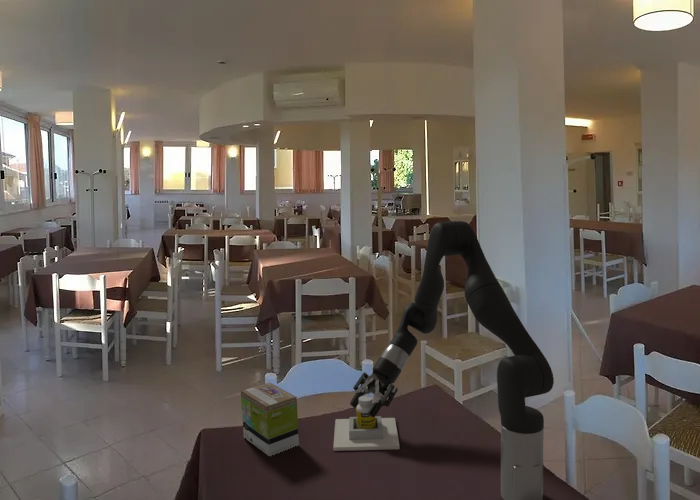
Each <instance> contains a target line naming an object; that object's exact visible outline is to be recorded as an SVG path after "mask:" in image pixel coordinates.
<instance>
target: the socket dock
mask: <svg viewBox="0 0 700 500" xmlns="http://www.w3.org/2000/svg"><path fill="white" fill-rule="evenodd" d="M399 440H400V439H399V435H398V429H397V422H396V418H395V417H382V416H381V415H379V416H377V415H376V416H375V429H357V416H349V418H336V419H335V422H334V435H333V451H334V452H338V451H339V452H341V451H343V452H344V451H377V450H378V451H379V450H380V451H381V450H382V451H383V450H384V451H385V450H386V451H387V450H401V449H400V441H399Z"/></svg>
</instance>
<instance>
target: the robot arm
mask: <svg viewBox="0 0 700 500" xmlns="http://www.w3.org/2000/svg"><path fill="white" fill-rule="evenodd" d="M427 240H428V241H427V247H426V253H425V256H424V257H425V258H424V264H423V271H422V276H421V279H420V282H419V285H418V288H417V290H416V292H415V293H416V294H415V296H414V302H410V303H408V304H407V305H406V306H405V307H404V309H403V312H402V315H401V319H400V323H399V325H398V328H397V330H396V332H395V334H394V336H393V337H392V338H391V341H390V342H389V343H388V345H387V346H386V347H385V349H384V350H383V352H382V353H381V354H380V356H379V357H378V359H377V361H376V362H375V364H374V366H373V367H372V374H370V375H369V374H368V373H366V372H365V371H364V372H363V373H362V374H361V375H360V377H359V378H358V380H357V381H356V383H354V386H353V387H352V388H353V390H354V391H355V394H354V396H353V397H352V398H351V400H350V403H349V404H350V406H351V407H352V408H354V409H356V408H357V405H358V404H359V397H361V396H367V395H370V394H374V395H375V402H374V401H373V403H372V404H373V405H372V407H371V409H370V410H369V412H368V414H369V415H370V416H371V417H375V416H377V414H378V413H379V411H380V410H381V408H382V407H387V408H388V407H390V405H391V403H392V401H393V400H394V397H395V396H396V394H397V392H398V388H397V386H395V384H394V383H396V381H397V379H398V378H399V376H400V375H401V373H402V371H403V369H404V368H405V366H406V365H407V363H408V360H409V358H410V356H411V355H412V354H413V351H414V350H415V348H416V347H417V345H418V339H417V337H416V336H415V335H414V334H413V333H412V332H410V330H409V328H408V327H409V326H410V327H411V328H413V329H415V330H416V331H418V332H420V333H421V334H430V333H432V332H433V331H434V329H435V328H436V327H437V323H438V306H439V303H440V300H441V297H442V295H443V293H444V289H445V281H444V279H445V278H444V275H443V273H442V272H441V268H440V264H441V261H442V260H443V258H444V257H451V256H452V257H454V256H460V257H461V258H463V261H464V262H465V265H466V267H467V275H466V280H465V284H464V298H465V301H466V302H467V304H468V307H469V309H470V311H471V313H472V315H473V317H474V318H475V320H476V321H477V323H479V324H480V325H481V326H482V327H483V328H485V329H486V330H487V331H489V332H490V333H491V334H493V335H495V336H496V337H497V338H498V339H500V340H501V341H502V342H504V344H506V345H507V347H508V348H509V349H510V351H511V352H512V353H513V355H511V356H506V357H503V358H501V360H500V361H499V363H498V365H497V368H496V386H497V387H496V388H497V405H498V412H499V414H500V496H501V498H502V499H503V500H543V499H544V497H543V496H544V433H545V432H544V431H545V430H544V427H545V421H544V420H545V418H544V414H543V413H542V412H541V411H540V410H538V409H536V408H534V407H532V406H528V405H526V398H530V397H535V396H540V395H545V394H547V393H549V392H551V390H552V389H553V387H554V383H555V382H554V374H553V371H552V367H551V365H550V363H549V361H548V360H547V358H546V356H545V355H544V354H543V352H542V350H541V349H540V348H539V346H538V345H537V343H536V341H534V339H533V338H532V337H531V335H530V333H529V332H528V330H527V329H526V327H525V326H524V324H523V323H522V321H521V319H520V317H518V315H517V312H516V311H515V309H514V307H513V306H512V304H511V302H510V300H509V298H508V295H507V294H506V292H505V291H504V288H503V287H502V286H501V284H500V282H499V281H498V279H497V277H496V275H495V273H494V271H493V269H492V268H491V266H490V264H489V261H488V260H487V258H486V256H485V253H484V251H483V249H482V246H481V244H480V242H479V240H478V236H477V235H476V232H475V231H474V229H473V227H472V226H471V225H470V224H469V222H466V221H464V220H455V221H454V220H453V221H451V220H450V221H441V222H436V223H435V224H433V226H432V228H431V229H430V232H429V236H428V239H427Z"/></svg>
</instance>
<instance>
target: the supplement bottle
mask: <svg viewBox="0 0 700 500" xmlns="http://www.w3.org/2000/svg"><path fill="white" fill-rule="evenodd" d="M373 404H374V401H373V397H372V396H370V395H364V396H361V397H359V404H358V405H357V407H356V408H355V410H356V411H355V412H356V417H357V429H375V417H371V416H370V415H369V414H368V412H369V410H370V409H371V407H372V405H373Z"/></svg>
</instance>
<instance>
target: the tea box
mask: <svg viewBox="0 0 700 500" xmlns="http://www.w3.org/2000/svg"><path fill="white" fill-rule="evenodd" d="M297 398H298V397H297V396H295V395H294V394H292V393H290V392H288V391H286V390H285V389H283V388H281V387H278V386H277V385H275V384H274V383H272V382H267V383H263V384H259V385H258V386H256V385H255V386H253V387H250V388H247V389H244V390H240V401H241V413H242V414H241V415H242V418H241V419H242V430H243V432H242V433H243V438H244V439H245V438H246V441H248V442H249V443H251V444H252V445H254V446H255V447H256V448H257V449H259V450H260V451H261V452H263V453H264V454H266V456H267V457H269V456H270V457H272V455H273V456H275V454H276V455H278V454H281V453H283V451H284V452H286V451H288V449H289V450H291V449H293V447H294V448H296V447H298V446H299V445H300V442H299V441H300V438H299V419H298V417H299V416H298V399H297ZM295 446H296V447H295ZM290 448H291V449H290ZM285 450H286V451H285ZM280 452H281V453H280ZM277 453H278V454H277Z"/></svg>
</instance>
